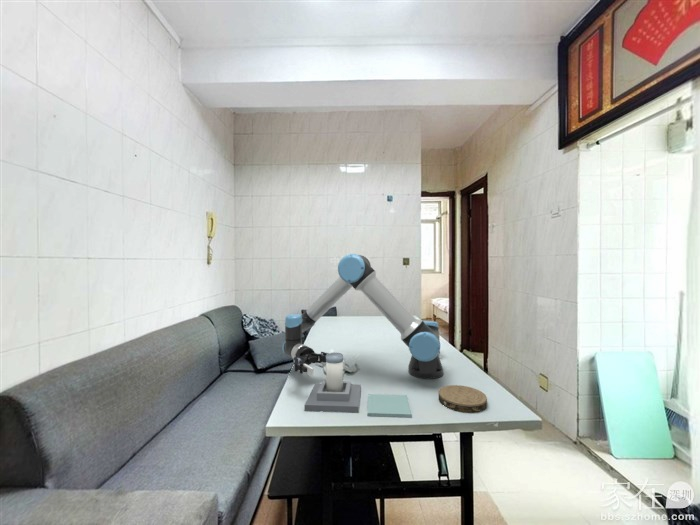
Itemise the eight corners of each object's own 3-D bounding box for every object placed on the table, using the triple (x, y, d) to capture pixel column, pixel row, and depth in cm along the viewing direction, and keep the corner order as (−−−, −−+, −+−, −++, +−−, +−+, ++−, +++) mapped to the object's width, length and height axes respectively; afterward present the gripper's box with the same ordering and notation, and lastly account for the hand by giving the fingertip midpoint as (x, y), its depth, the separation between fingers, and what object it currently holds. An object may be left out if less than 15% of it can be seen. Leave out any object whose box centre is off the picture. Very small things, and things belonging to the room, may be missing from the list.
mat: (406, 397, 108) (406, 395, 108) (411, 417, 94) (411, 414, 94) (368, 396, 109) (368, 394, 109) (367, 416, 95) (367, 412, 95)
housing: (361, 389, 116) (360, 378, 116) (358, 412, 98) (358, 398, 98) (315, 388, 117) (315, 377, 117) (304, 411, 99) (304, 397, 99)
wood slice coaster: (495, 414, 96) (495, 404, 96) (446, 414, 97) (446, 404, 97) (475, 393, 112) (475, 385, 112) (433, 393, 113) (433, 385, 113)
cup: (344, 390, 110) (343, 352, 110) (342, 398, 104) (342, 357, 104) (327, 390, 111) (327, 352, 111) (324, 397, 104) (324, 357, 105)
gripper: (328, 357, 134) (356, 371, 117) (275, 369, 120) (297, 387, 103) (328, 341, 134) (355, 352, 117) (275, 350, 120) (297, 365, 103)
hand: (328, 368), depth 110 cm, fingers open, 13 cm apart
